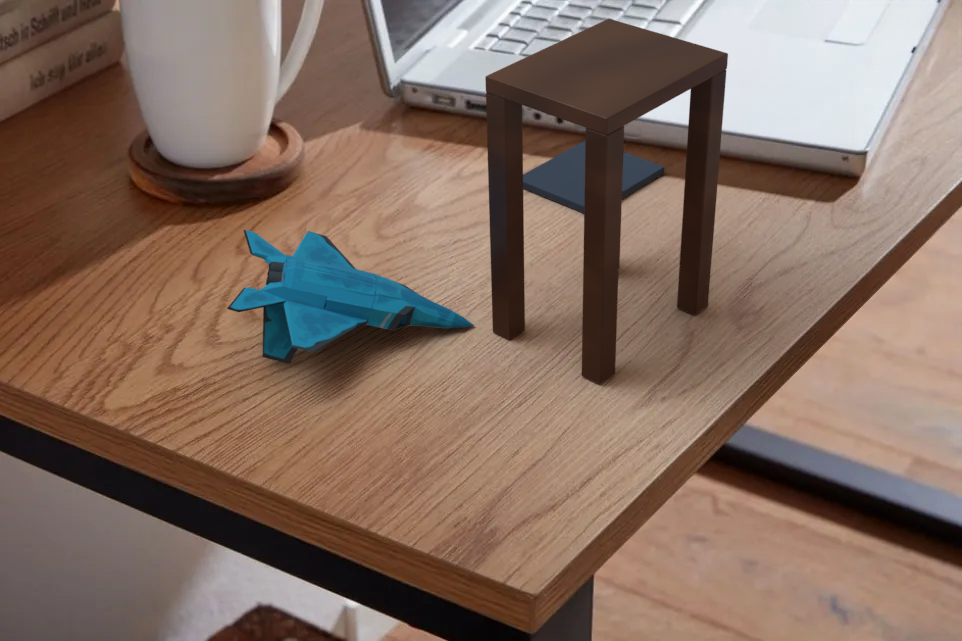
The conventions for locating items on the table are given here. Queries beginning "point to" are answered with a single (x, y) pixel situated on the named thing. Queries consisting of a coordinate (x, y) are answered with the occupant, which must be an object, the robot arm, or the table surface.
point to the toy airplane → (328, 299)
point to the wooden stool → (603, 164)
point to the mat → (583, 177)
